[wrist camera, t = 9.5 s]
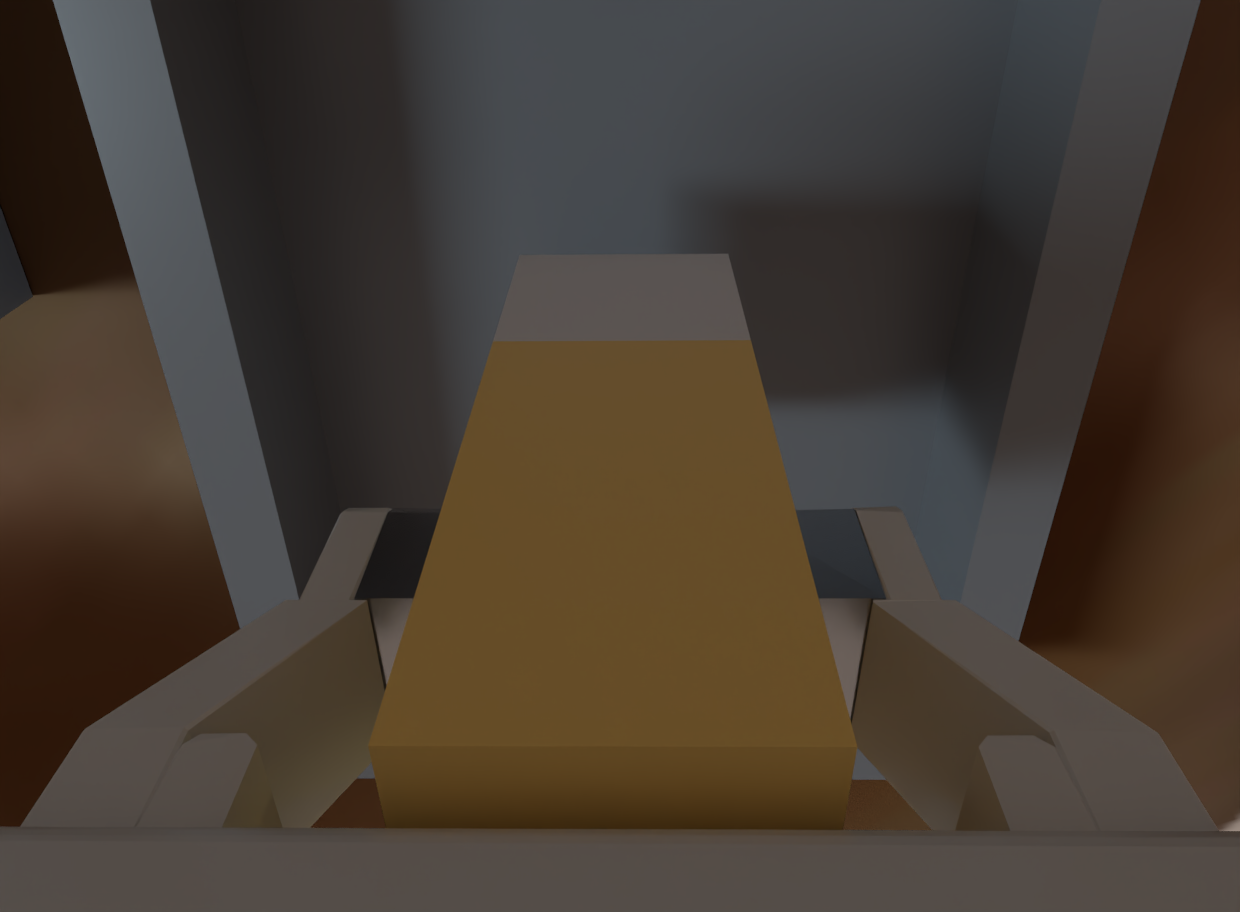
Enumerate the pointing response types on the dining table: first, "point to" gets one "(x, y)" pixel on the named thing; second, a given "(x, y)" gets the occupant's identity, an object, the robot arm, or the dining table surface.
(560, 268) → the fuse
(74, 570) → the dining table surface
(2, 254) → the socket block
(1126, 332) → the dining table surface
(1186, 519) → the dining table surface
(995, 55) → the parts tray
